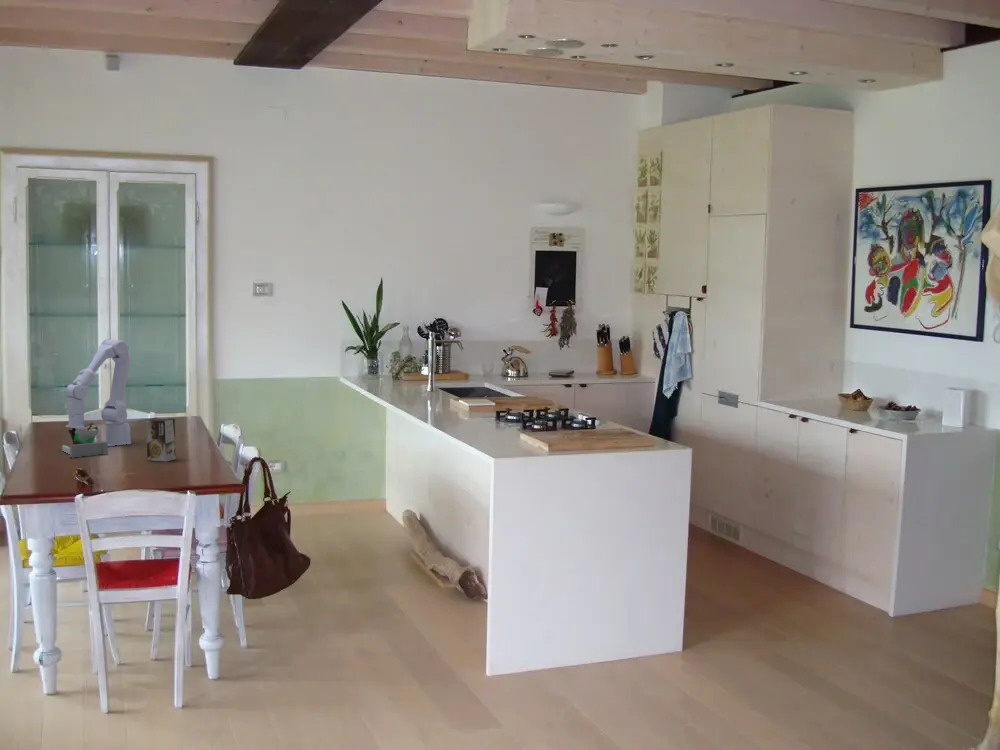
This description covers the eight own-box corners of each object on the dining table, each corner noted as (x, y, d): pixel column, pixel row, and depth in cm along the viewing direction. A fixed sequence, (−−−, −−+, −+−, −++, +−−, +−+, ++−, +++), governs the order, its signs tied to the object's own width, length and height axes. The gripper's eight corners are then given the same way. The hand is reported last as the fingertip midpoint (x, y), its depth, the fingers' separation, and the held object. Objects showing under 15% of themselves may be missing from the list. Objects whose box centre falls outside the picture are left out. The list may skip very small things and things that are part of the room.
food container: (83, 456, 414) (89, 434, 411) (69, 450, 414) (75, 428, 412) (99, 448, 426) (105, 427, 423) (85, 443, 426) (92, 421, 424)
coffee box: (176, 459, 407) (175, 418, 405) (166, 462, 401) (165, 420, 399) (157, 457, 410) (156, 417, 408) (146, 460, 404) (145, 419, 402)
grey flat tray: (94, 448, 427) (93, 436, 426) (107, 454, 414) (107, 442, 414) (58, 452, 418) (58, 439, 418) (71, 458, 405) (71, 445, 405)
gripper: (60, 412, 423) (61, 445, 424) (71, 416, 412) (72, 450, 413) (78, 411, 427) (79, 443, 429) (89, 415, 416) (90, 448, 418)
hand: (77, 447), depth 421 cm, fingers closed, pressing on food container
